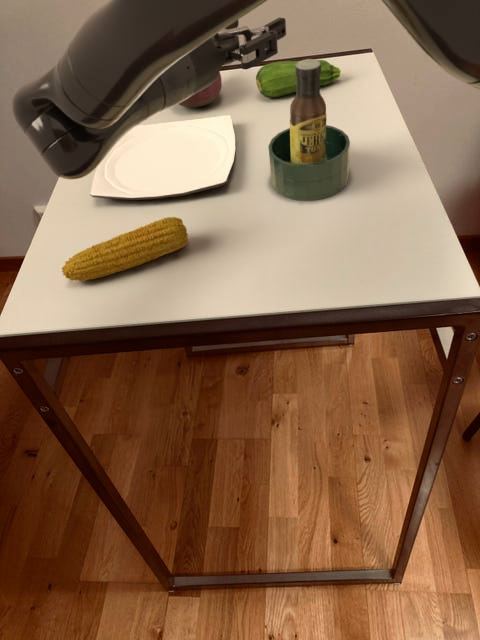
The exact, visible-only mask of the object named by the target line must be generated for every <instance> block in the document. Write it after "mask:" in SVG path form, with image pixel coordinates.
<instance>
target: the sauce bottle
mask: <svg viewBox="0 0 480 640" xmlns="http://www.w3.org/2000/svg"><path fill="white" fill-rule="evenodd" d="M317 60H318V59H312V58H307V59H306V58H305V59H302V60H299V61H300V62H298V63H297V64H296V68H295V74H296V76H297V89H296V92H295V93H296V94H295V95H294V98H293V99H292V101H291V104H290V106H289V115H290V116H289V117H290V119H289V128H290V148H291V163H293V164H315V163H321V162H324V161H325V149H326V125H327V104H326V101H325V99H324V98H323V96H322V95H321V86H320V73H321V63H320V62H319V61H317Z"/></svg>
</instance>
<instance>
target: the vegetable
mask: <svg viewBox="0 0 480 640" xmlns="http://www.w3.org/2000/svg"><path fill="white" fill-rule="evenodd" d="M316 60H317V61H319V62H320V63H321V73H320V87H325V86H327V85H329V84H330V83H331V82H333V81H335V80H337V79H339V78H340V76H341V72H342V70H340V68H339V67H337V66H335V65H334V64H331V63H329V61H327V60H325V59H316ZM300 61H301V60H292V61H291V60H289V61H286V60H285V61H275V62H269V63H267V64H264V65H262V67H260V68H259V69H258V71H257V73H256V75H255V81H256V82H255V83H256V86H257V90H258V92H259V93H260V94H261V95H262V96H263V97H265V98H269V99H274V98H281V97H283V96H287V95H290V94H294V93H296V89H297V76H296V74H295V68H296V64H297V63H298V62H300Z"/></svg>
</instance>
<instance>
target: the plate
mask: <svg viewBox="0 0 480 640" xmlns="http://www.w3.org/2000/svg"><path fill="white" fill-rule="evenodd" d="M236 145H237V144H236V134H235V130H234V126H233V120H232V116H231V115H230V114H227V115H218V116H211V117H204V118H198V119H197V118H196V119H187V120H177V121H169V122H159V123H152V124H151V123H150V124H139V125H137V126H136V127H134V128H133V129H132V130H130V131H129V132H128V133H127V134H126V135H125V136H123V137H122V138H121V140H120V141H119V142H118V143H117V144H116V145H115V146H114V147H113V148H112V150H111V151H110V152H109V153H108V155H107V156H106V157H105V158H104V159H103V161H102V162H101V163H100V164H99V165H98V166H97V168H96V169H95V173H94V175H93V180H92V184H91V187H90V193H89V195H90V196H91V197H92V198H96V199H97V198H99V199H109V200H111V199H112V200H127V201H143V200H156V199H165V198H173V197H182V196H187V195H191V194H195V193H199V192H202V191H207V190H211V189H216V188H218V187H219V188H220V187H222V186H223V185H225V184H227V182H228V180H229V177H230V175H231V172H232V169H233V166H234V164H235V159H236V148H237V147H236Z"/></svg>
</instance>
